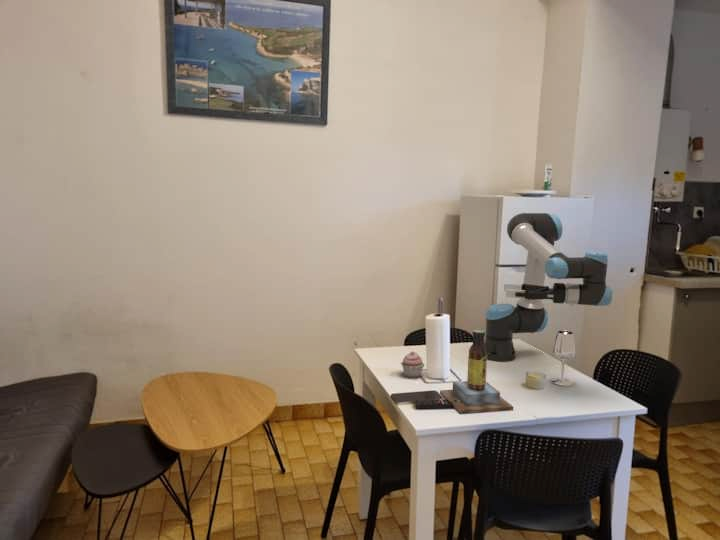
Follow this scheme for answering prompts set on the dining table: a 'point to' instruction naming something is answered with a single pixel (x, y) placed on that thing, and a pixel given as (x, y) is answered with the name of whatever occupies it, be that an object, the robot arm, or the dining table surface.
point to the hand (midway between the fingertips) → (504, 290)
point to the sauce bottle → (477, 362)
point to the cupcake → (412, 365)
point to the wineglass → (564, 353)
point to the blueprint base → (475, 408)
